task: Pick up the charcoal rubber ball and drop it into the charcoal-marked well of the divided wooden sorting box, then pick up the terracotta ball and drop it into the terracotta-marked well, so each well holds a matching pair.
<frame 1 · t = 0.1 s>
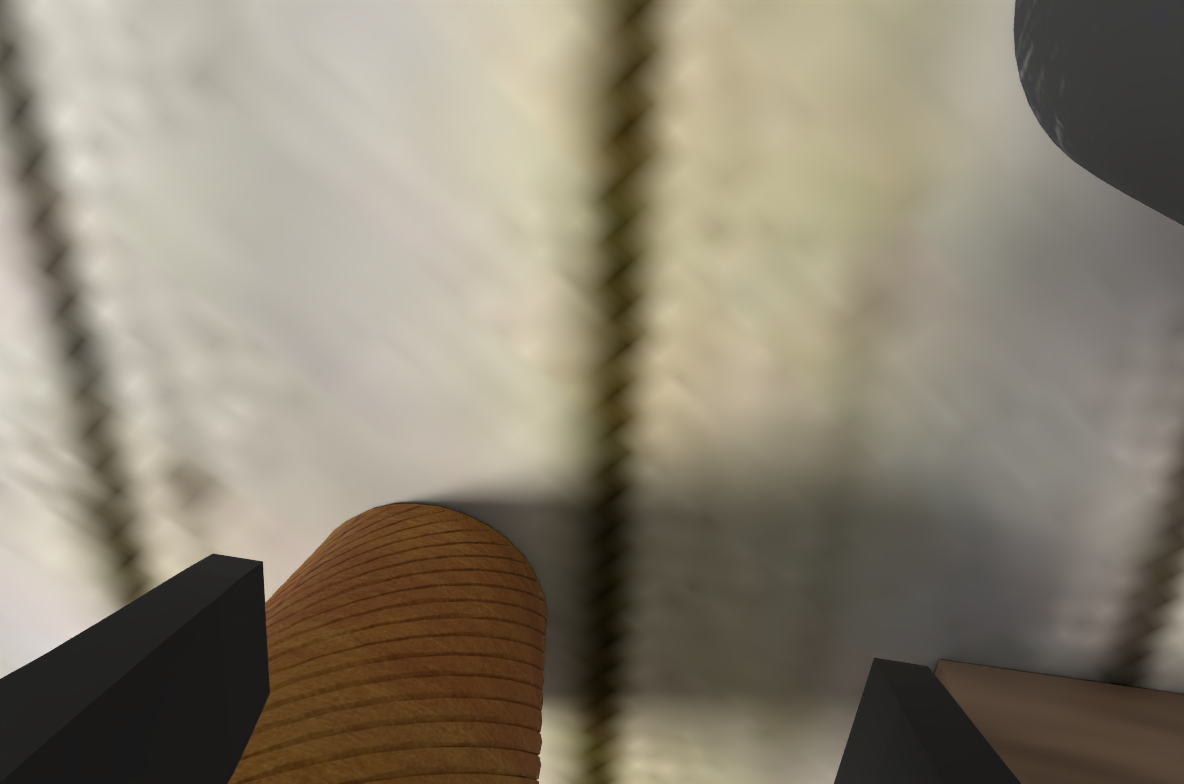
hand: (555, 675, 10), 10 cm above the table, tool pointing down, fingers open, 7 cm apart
divided wooden sorting box: (1138, 783, 23), on the table
disposable coffee cup: (430, 599, 23), on the table
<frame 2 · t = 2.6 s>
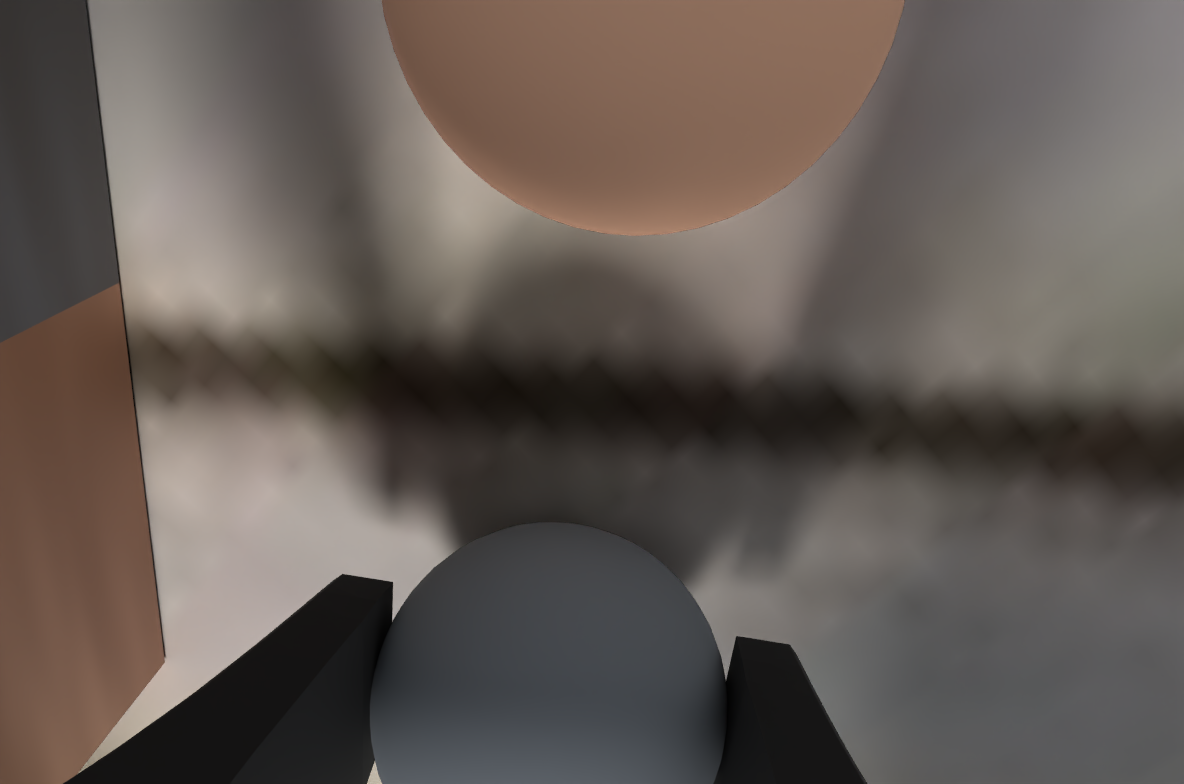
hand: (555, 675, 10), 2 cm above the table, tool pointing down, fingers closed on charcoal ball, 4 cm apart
charcoal ball: (571, 590, 12), on the table, touching gripper
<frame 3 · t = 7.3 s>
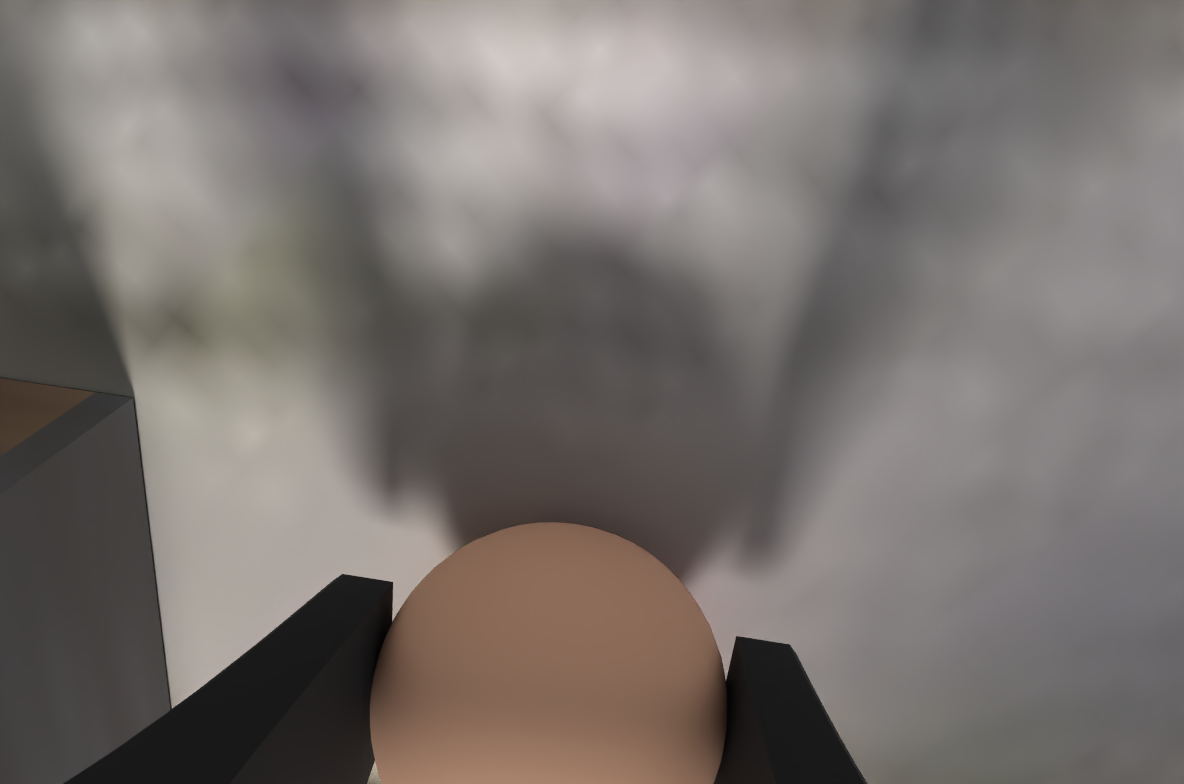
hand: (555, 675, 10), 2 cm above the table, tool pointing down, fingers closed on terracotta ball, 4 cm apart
terracotta ball: (571, 590, 12), on the table, touching gripper
when the fingers open (9 cm above the table, at t = 9.4 s): terracotta ball drops 3 cm and tips over, resting on terracotta ball in well, divided wooden sorting box.
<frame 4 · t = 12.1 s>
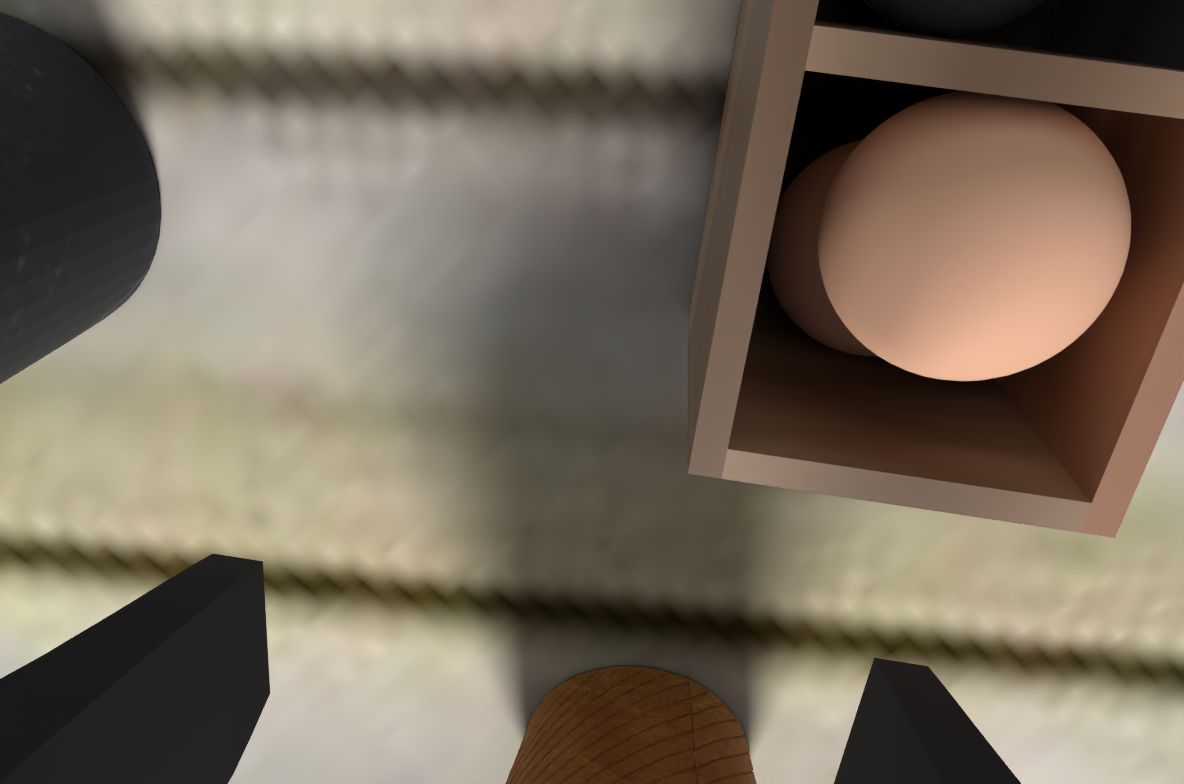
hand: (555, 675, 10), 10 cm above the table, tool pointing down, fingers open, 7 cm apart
terracotta ball: (903, 308, 14), point 4 cm above the table, tilted 49°, touching terracotta ball in well, divided wooden sorting box
divided wooden sorting box: (900, 45, 17), on the table
travel mug: (15, 177, 20), on the table
disposable coffee cup: (636, 745, 25), on the table
terracotta ball in well: (864, 196, 18), resting in divided wooden sorting box, tilted 17°, touching terracotta ball
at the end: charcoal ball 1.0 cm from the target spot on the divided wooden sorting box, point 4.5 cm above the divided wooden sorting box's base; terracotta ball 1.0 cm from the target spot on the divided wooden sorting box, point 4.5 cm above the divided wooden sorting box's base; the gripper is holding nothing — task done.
